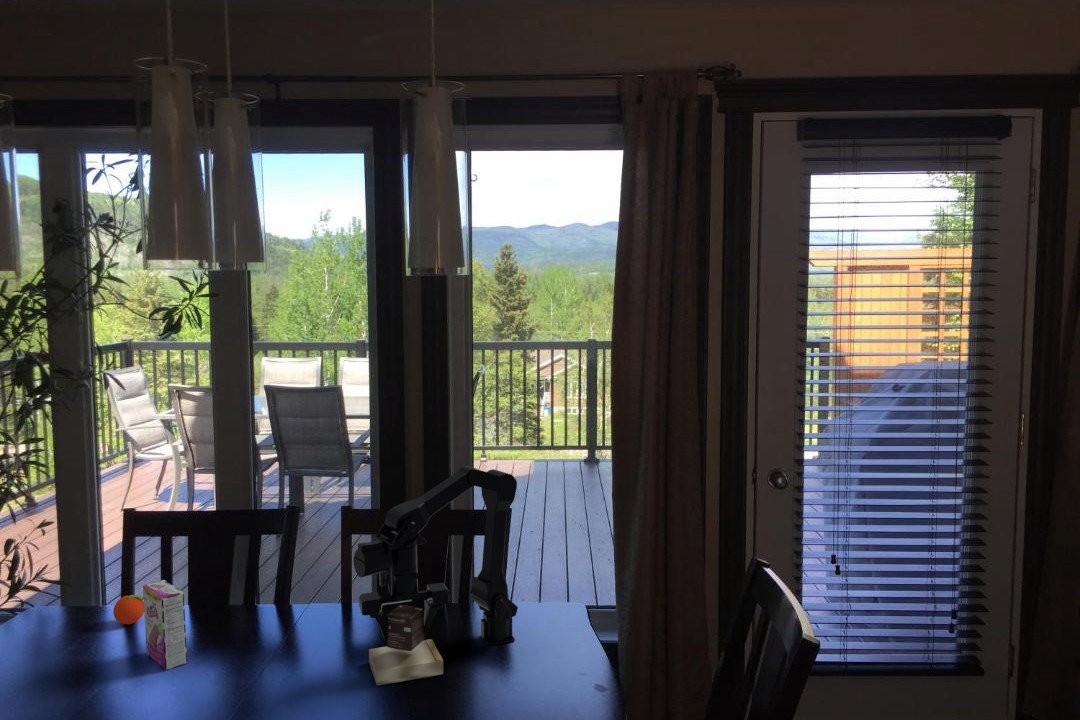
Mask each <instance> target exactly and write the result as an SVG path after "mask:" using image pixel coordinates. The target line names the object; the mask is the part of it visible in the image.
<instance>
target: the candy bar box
mask: <svg viewBox="0 0 1080 720" xmlns="http://www.w3.org/2000/svg"><path fill="white" fill-rule="evenodd" d="M142 595H143V596H142V597H143V598H144V599H143V598H142V599H143V602H144V614H143V616H144V630H145V646H146V647H145V648H146V656H148V657H149V656H150V657H151V658H150V657H149V658H150V659H151V660H153V661H154V662H155V663H156V662H157V663H156V664H157V665H159V666H162V667H161V668H163V669H164V671H168V670H167V669H170V670H172V669H171V668H173V669H175V668H177V666H178V667H180V666H183V665H186V663H187V664H188V651H187V647H188V646H187V636H186V635H187V632H186V631H187V630H186V628H187V627H186V613H185V612H186V610H185V609H186V608H185V592H184V591H183V590H180V589H179V588H177V587H176V586H174V585H173V584H171V583H169V582H168V580H165V579H161V580H158V581H153V582H151V583H146V584H143V585H142ZM174 667H175V668H174Z"/></svg>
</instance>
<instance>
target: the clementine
mask: <svg viewBox="0 0 1080 720" xmlns="http://www.w3.org/2000/svg"><path fill="white" fill-rule="evenodd" d="M112 612H113V617H114V619H115V621H117V622H118V623H119V624H123V625H132V624H135V623H137V622H138V621H139V620H141V618H142V617H143V616H144V598H143V596H142V595H137V594H128V595H124V596H123V597H121V598H119V599H118V601H116V603H115V604H114V606H113V611H112Z"/></svg>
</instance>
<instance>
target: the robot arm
mask: <svg viewBox="0 0 1080 720" xmlns="http://www.w3.org/2000/svg"><path fill="white" fill-rule="evenodd" d="M473 487H478V488H481V489H480V490H481V497H482V499H483V502H484V505H485V508H486V509H485V510H486V512H485V513H486V514H485V522H484V524H485V525H484V537H483V538H484V539H483V552H482V564H481V565H482V566H481V570H480V572H479V573H478V575H477V576H472V578H471V590H470V592H469V594H471V595H472V600H473V601H474V603H475V604H476V605H477V606H478V608H479V610H481V611H483V612H482V618H481V619H480V636H481V638H482V639H483V640H484V641H485V643H486V644H487V646H494V645H500V644H507V643H513V642H515V641H516V639H515V637H514V636H513V618H514V617H516V616H517V612H518V608H519V607H518V606H517V604H515V603H514V602H512V600H510V599H509V588H508V583H507V580H506V577H505V574H504V560H505V559H504V558H505V548H506V535H507V534H506V533H507V520H508V511H509V509H510V507H511V506H512V504H513V503H514V501H515V498H516V492H517V489H518V488H517V487H518V481H517V479H516V477H515V476H514V475H512V474H511V473H507V472H505V471H501V470H498V469H489V470H487V471H484V470H480V469H478V468H476V467H473V466H469V465H463V466H462V467H459V469H458V470H457V471H456V472H454V473H452V475H449V477H447V478H446V479H444V480H443V481H441V482H440V483H439V484H436V486H435V487H432V489H430V490H428V491H427V492H426V493H424V494H422V495H421V496H420V497H417V498H415V499H412V500H407V501H404V502H402V503H400V504H397V505H395V506H393V507H392V508H390V509H389V510H388V511H387V512H386V516H385V518H384V519H385V520H384V522H383V524H382V525H381V527H380V529H379V530H378V532H377V534H376V535H375V540H373V541H369V542H360V543H358V544H357V549H356V550H355V552H354V554H353V555H354V556H353V559H352V562H353V567H354V570H355V573H356V575H357V576H358V577H359V578H365V577H369V576H372V575H377V574H378V580H379V581H378V582H379V586H380V587H383V586H387V588H388V593H389V595H383V596H382V595H381V596H380V594H379V592H378V591H373V592H365V593H361V594H360V596H359V597H358V607H359V610H360V613H361V615H362V616H369V619H370V618H371V619H375V620H376V622H377V624H378V625H379V628H380V631H381V633H382V636H383V639H384V641H385V642H387V621H386V615H385V613H384V610H383V606H384V607H385V606H391V605H392V606H393V605H401V604H406V603H411V602H413V603H414V602H418V601H424V602H423V603H424V636H425V635H426V636H427V634H428V632H429V629H430V627H431V624H432V621H433V619H434V618H435V615H437V614H436V613H437V612H438V610H439V609H442V608H443V605H446V604H449V603H451V593H450V590H449V589H448V587H447V585H445V584H444V583H443V582H438V583H437V582H436V583H430V584H427V585H426V590H419V585H418V584H419V581H418V579H419V574H418V545H423V544H426V543H427V539H425V538H424V537H422V535H420V532H421V531H422V530H423V529H424V528H425V527H426V526H427V524H428V522H429V520H430V519H431V517H432V516H433V515H435V514H436V513H437V512H439V511H441V510H442V509H443V508H444V507H446V506H448V505H449V504H450V503H452V502H453V501H454V500H456V499H457V498H458V497H460V496H461V495H463V494H464V493H466V492H467V491H469V490H470V489H471V488H473ZM392 533H393V534H395V536H392V535H391V534H392ZM389 570H390V573H389Z"/></svg>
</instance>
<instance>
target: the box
mask: <svg viewBox="0 0 1080 720" xmlns="http://www.w3.org/2000/svg"><path fill="white" fill-rule="evenodd" d="M424 610H425V607H424V608H423V607H416V606H415V605H404V604H398V605H397V606H396V607H394V609H392V610H391V611H390V612H388V613H387V614H386V615H385V618H386V630H387V641H386V647H389V648H394V649H399V650H406V651H412V650H413V649H414V648H415V647H416V646H417V645H419V644H420V643H421V642H423V641H425V634H424Z"/></svg>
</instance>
